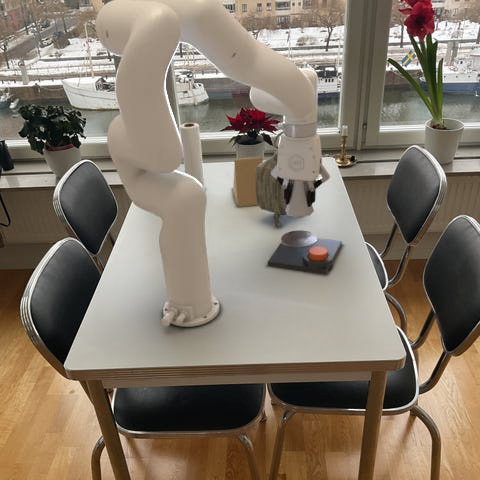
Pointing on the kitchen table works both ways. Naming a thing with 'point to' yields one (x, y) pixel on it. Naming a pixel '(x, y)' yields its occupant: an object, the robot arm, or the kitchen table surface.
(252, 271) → the kitchen table surface
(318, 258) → the scale button
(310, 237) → the weighing pan
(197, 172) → the paper towel roll
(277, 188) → the tabletop clock
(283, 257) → the scale
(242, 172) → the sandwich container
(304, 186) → the flask
